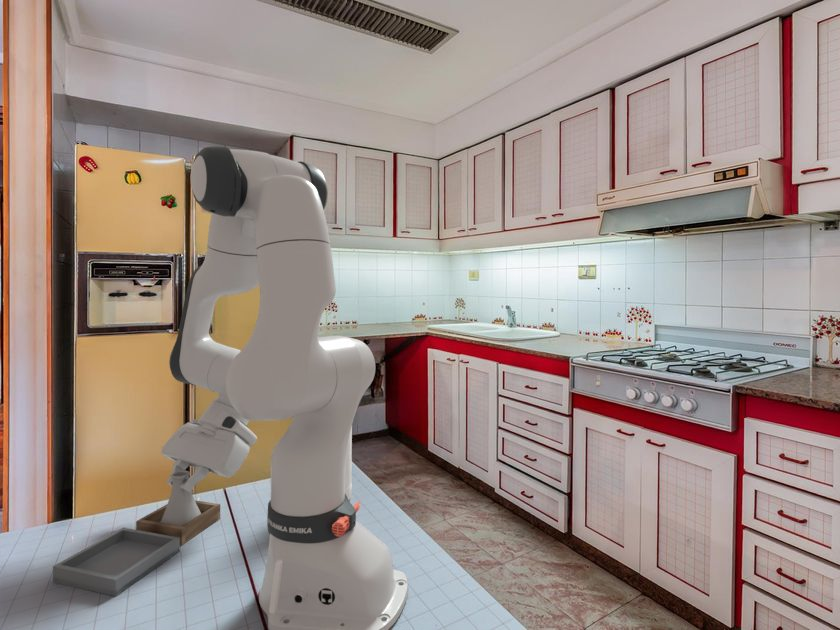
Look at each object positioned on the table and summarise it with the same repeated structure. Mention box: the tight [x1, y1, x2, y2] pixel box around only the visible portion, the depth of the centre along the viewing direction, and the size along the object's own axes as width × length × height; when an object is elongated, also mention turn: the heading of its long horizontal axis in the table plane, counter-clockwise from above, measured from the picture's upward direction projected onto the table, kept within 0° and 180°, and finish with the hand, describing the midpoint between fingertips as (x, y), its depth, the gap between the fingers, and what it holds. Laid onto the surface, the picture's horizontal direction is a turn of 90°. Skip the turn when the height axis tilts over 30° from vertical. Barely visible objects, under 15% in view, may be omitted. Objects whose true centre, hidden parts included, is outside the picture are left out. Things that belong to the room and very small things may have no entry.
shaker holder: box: [135, 499, 221, 546], centre depth 88 cm, size 10×10×3 cm
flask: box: [160, 470, 201, 526], centre depth 87 cm, size 7×7×10 cm
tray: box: [52, 527, 181, 597], centre depth 75 cm, size 12×12×2 cm
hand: (177, 487), depth 87 cm, fingers closed on flask, 3 cm apart
